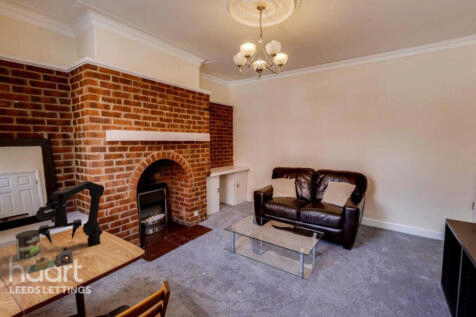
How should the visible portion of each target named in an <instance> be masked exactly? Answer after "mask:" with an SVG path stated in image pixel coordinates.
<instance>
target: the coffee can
mask: <svg viewBox="0 0 476 317" xmlns="http://www.w3.org/2000/svg"><path fill="white" fill-rule="evenodd" d="M40 235H41V234H38V229H29V230H25V231H22V232H18V233H17V234H16V235H14V236H15V242H16V244H15V247H16V258H17V261H21V262H22V261H28V260H32V259H34V258H37V257H39V256H40V255H41V253H42V251H41V250H42V249H41V238H40Z"/></svg>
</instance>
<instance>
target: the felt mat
mask: <svg viewBox="0 0 476 317" xmlns="http://www.w3.org/2000/svg"><path fill="white" fill-rule="evenodd" d="M35 264H36V263H35ZM35 264H30V266H29V270H28V274H32V273H36V272H39V271H42V270H47V269H50V268H54V267H55V259H51V260H49V263H48V267H45V268H42V269H38V270H35Z"/></svg>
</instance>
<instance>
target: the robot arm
mask: <svg viewBox="0 0 476 317" xmlns="http://www.w3.org/2000/svg"><path fill="white" fill-rule="evenodd" d="M86 190H87V191H88V194H89V196H90V203H89V211H88V219H87V221H86V222H85V223H84V222H83V223H82V219H81V218H78V219H74V220H72V221H71V222H69V220H68V212H67V211H68V209H67V208H68V207H67V205H70V204H71V202H69V201H68V200H70V199H71V198H72V197H73V196H74V195H77V194H78V193H81V192H83V191H86ZM104 192H105V186H104V185H103V184H98V183H95V182H93V181H90V180H84V181H82V182H80V183H77V184H75V185H74V186H71V187H69V188H67V189H61V190H58V191H52V193H51V194H50V197H49V198H48V199H47V202H46V203H45V206H39V207H38V210H37V211H36V213H35V215H36V216H35V217H36V218H37V220H38V221H44V220H47V219H51V223H54V225H49V224H44V225H40V226H39V227H38V229H37V230H38V234H40V235H41V236H43V235H44V236H45V237H46V238H47V240H48V242H49V243H50V244H53V241H52V240H53V239H52V236H51V231H52V230H57V229H62V228H68V227H72V229H71V240H73V239H74V236H75V234H76V231H77V229H80V227H82V226H83V227H82V231H83V233H84V234H85V236H87V238H86V240H87V245H88V247H93V246H98V245H101V244H102V243H101V235H103V231H104V230H103V229H101V228H100V224H99V222H98V216H99V206H100V200H101V197H102V196H103V195H104ZM50 230H51V231H50Z"/></svg>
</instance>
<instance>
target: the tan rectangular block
mask: <svg viewBox="0 0 476 317" xmlns="http://www.w3.org/2000/svg"><path fill="white" fill-rule="evenodd" d="M49 261H50V260H49V256H47V257H44V256H42V257H40V258H38V259H36V260H35V270H38V269H42V268H45V267H48V263H49Z"/></svg>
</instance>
